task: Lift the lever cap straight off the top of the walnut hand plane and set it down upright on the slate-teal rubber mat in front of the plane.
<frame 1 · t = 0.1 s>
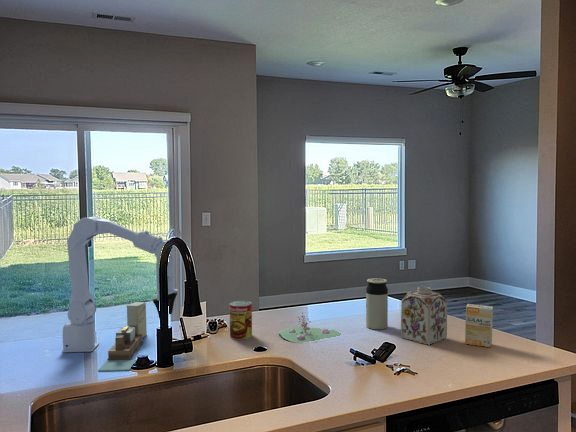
hand: (166, 316, 165), 10 cm above the countertop, tool pointing down, fingers open, 7 cm apart
canned food: (241, 336, 176), on the countertop
plant: (313, 336, 178), on the countertop
supplement box: (478, 345, 165), on the countertop
hand plane: (126, 351, 161), on the countertop
decorative jar: (423, 339, 172), on the countertop
travel mug: (376, 327, 187), on the countertop
lever cap: (125, 342, 161), point 3 cm above the countertop, touching hand plane
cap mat: (117, 366, 148), on the countertop
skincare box: (137, 337, 176), on the countertop
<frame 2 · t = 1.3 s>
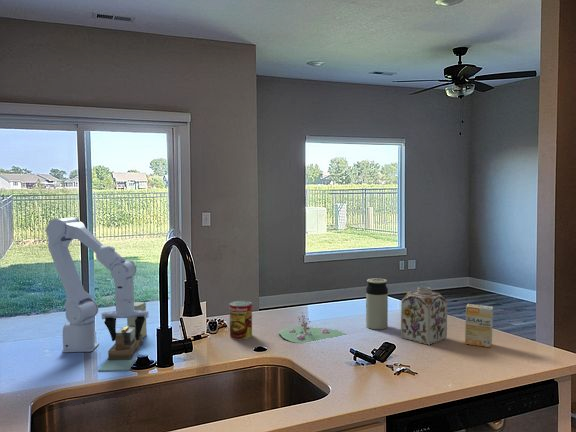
hand: (126, 339, 161), 4 cm above the countertop, tool pointing down, fingers open, 7 cm apart
nothing on the countertop moved.
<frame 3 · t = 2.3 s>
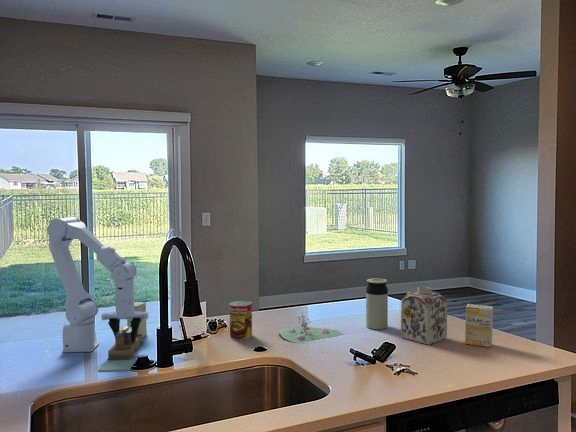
hand: (125, 340, 161), 3 cm above the countertop, tool pointing down, fingers closed on lever cap, 4 cm apart
lever cap: (125, 342, 161), point 3 cm above the countertop, touching gripper, hand plane
everything else where it was.
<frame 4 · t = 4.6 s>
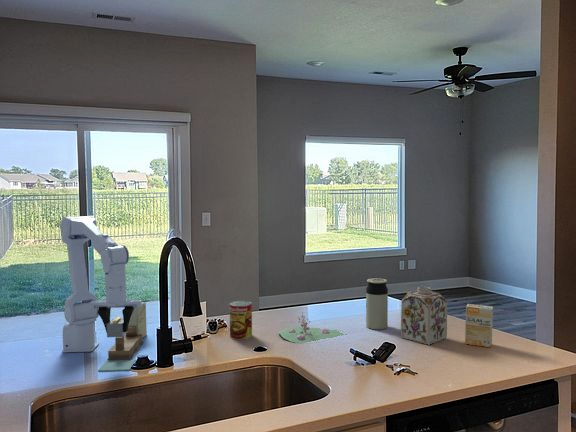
hand: (117, 331, 147), 10 cm above the countertop, tool pointing down, fingers closed on lever cap, 4 cm apart
lever cap: (117, 334, 148), point 9 cm above the countertop, touching gripper
everything else where it was.
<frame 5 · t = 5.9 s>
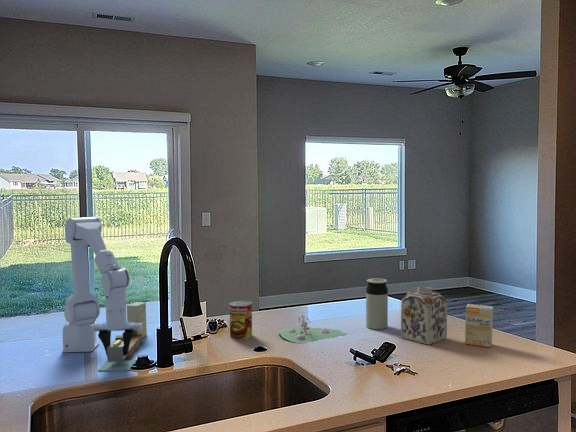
hand: (117, 354, 147), 4 cm above the countertop, tool pointing down, fingers closed on lever cap, 4 cm apart
lever cap: (117, 357, 148), point 3 cm above the countertop, touching gripper
everything else where it was.
when the fingers open (3 cm above the countertop, at t = 7.0 s): lever cap drops 1 cm, resting on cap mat.
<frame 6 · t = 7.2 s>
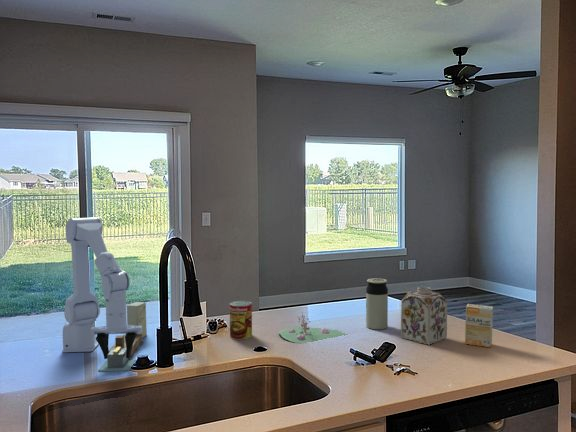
hand: (117, 357, 148), 3 cm above the countertop, tool pointing down, fingers open, 6 cm apart
lever cap: (118, 364, 148), resting on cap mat
everything else where it was.
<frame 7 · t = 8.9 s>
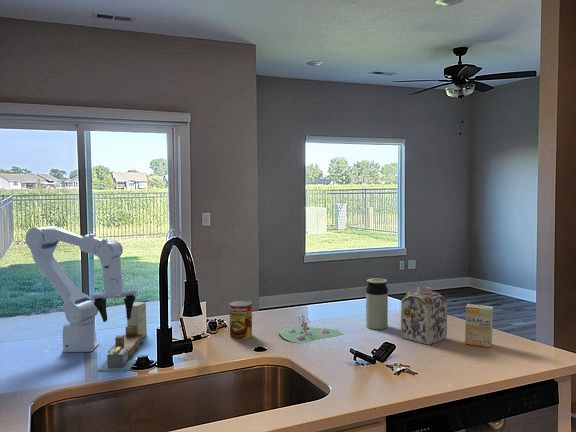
hand: (117, 319, 161), 10 cm above the countertop, tool pointing down, fingers open, 7 cm apart
nothing on the countertop moved.
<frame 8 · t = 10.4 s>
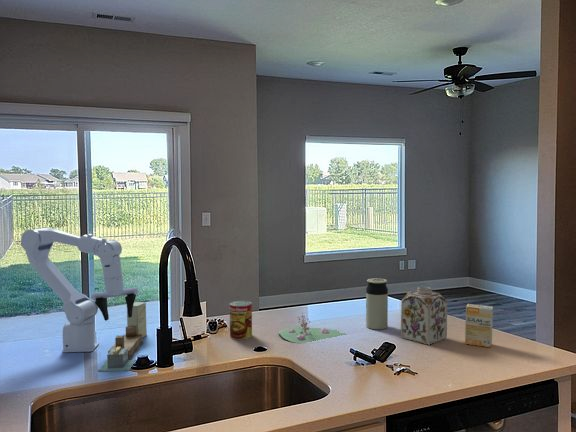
hand: (118, 318, 162), 11 cm above the countertop, tool pointing down, fingers open, 7 cm apart
nothing on the countertop moved.
at the end: lever cap 0.4 cm off-centre on the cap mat, point 0.4 cm above the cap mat's base; lever cap tilted 0°; lever cap touching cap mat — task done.
